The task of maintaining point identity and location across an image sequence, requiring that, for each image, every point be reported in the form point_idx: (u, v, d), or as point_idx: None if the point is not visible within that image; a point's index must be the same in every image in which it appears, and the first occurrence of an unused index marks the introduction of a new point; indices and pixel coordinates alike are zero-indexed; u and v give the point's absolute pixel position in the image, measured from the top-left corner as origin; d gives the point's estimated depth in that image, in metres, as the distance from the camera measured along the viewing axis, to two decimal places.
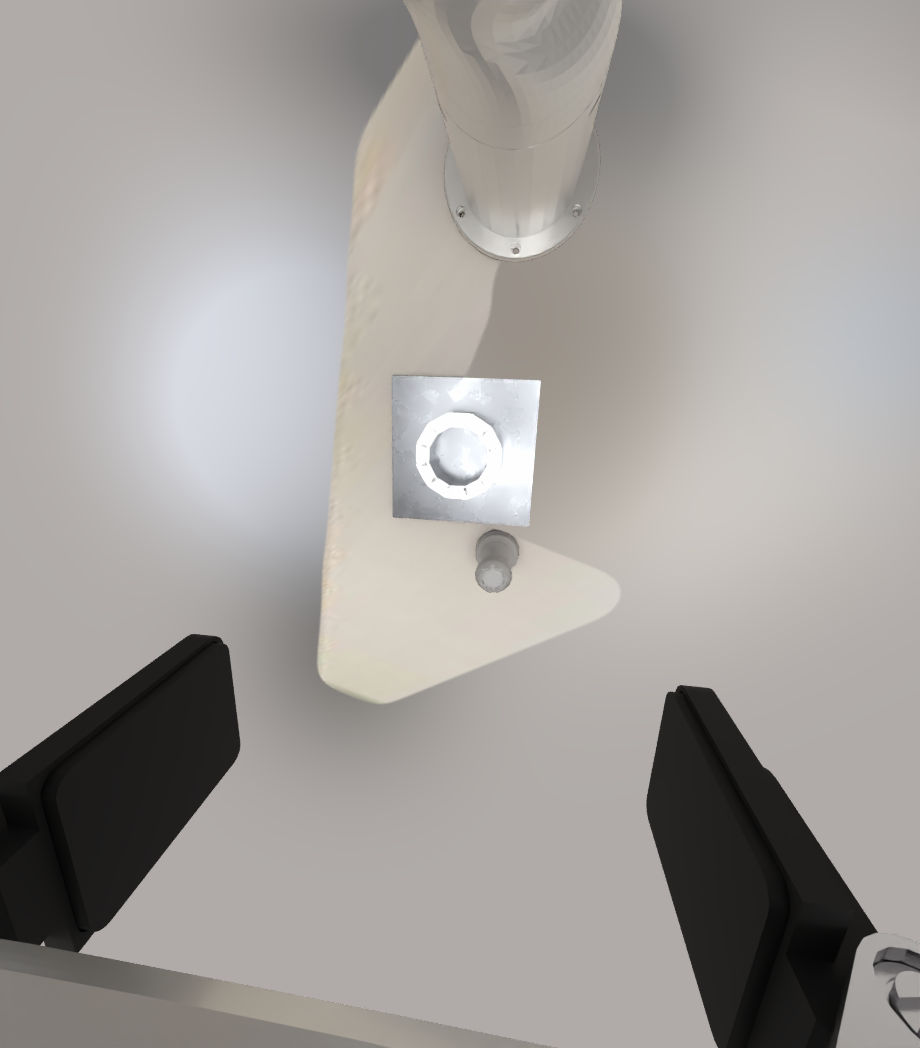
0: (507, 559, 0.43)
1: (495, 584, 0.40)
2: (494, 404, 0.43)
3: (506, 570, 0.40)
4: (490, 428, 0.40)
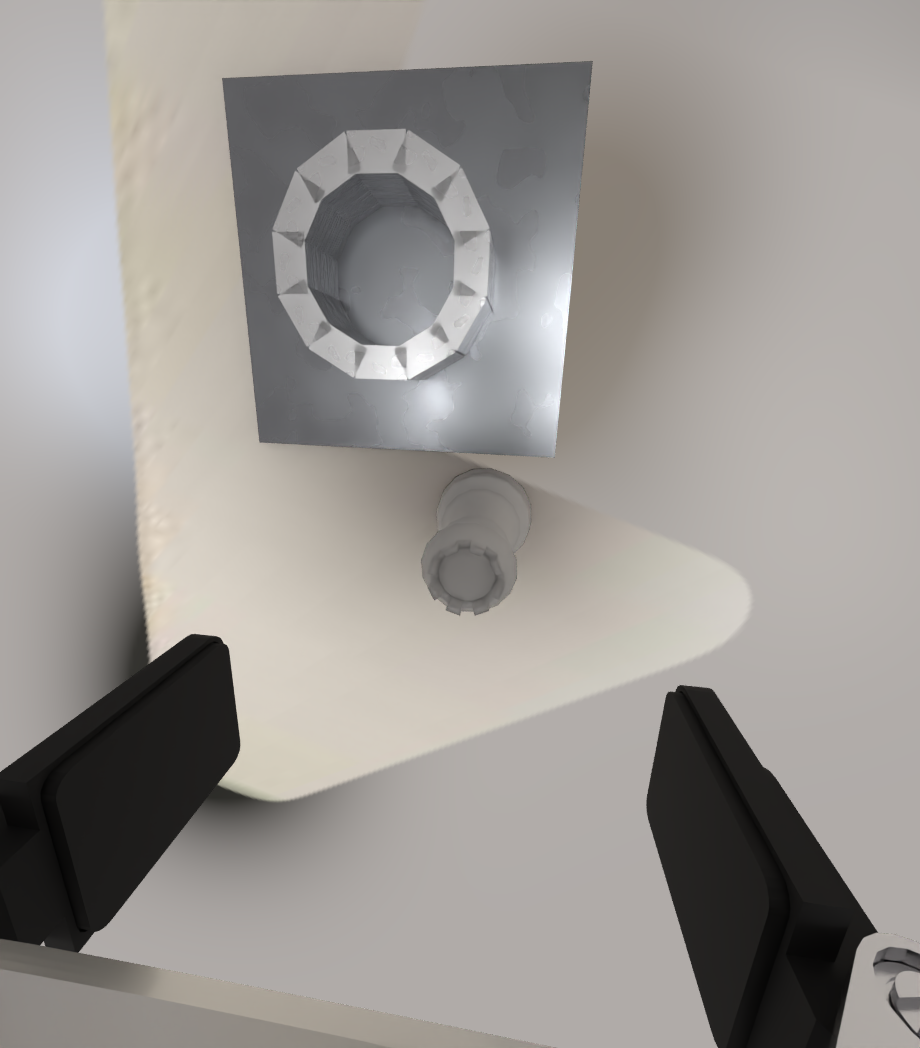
0: (506, 529, 0.18)
1: (472, 594, 0.15)
2: (473, 143, 0.17)
3: (502, 555, 0.15)
4: (459, 172, 0.15)
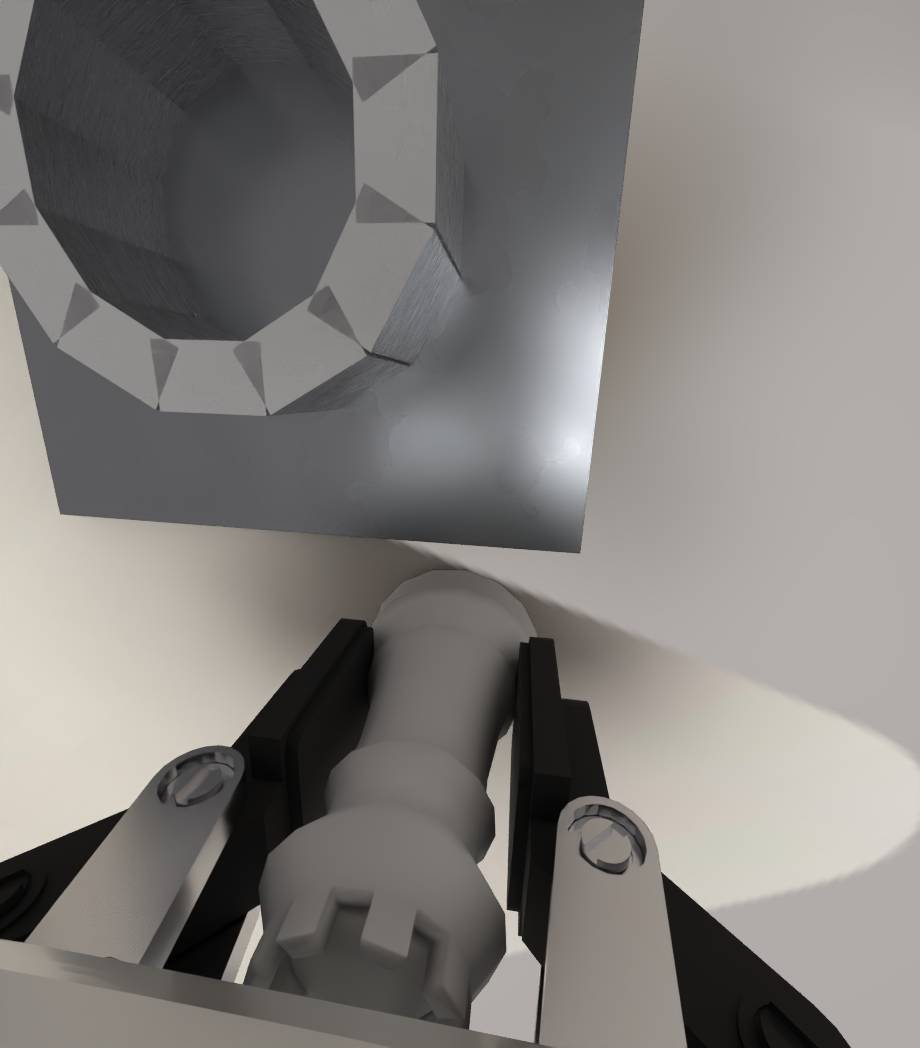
0: (487, 732, 0.08)
1: None
2: None
3: (465, 927, 0.05)
4: None
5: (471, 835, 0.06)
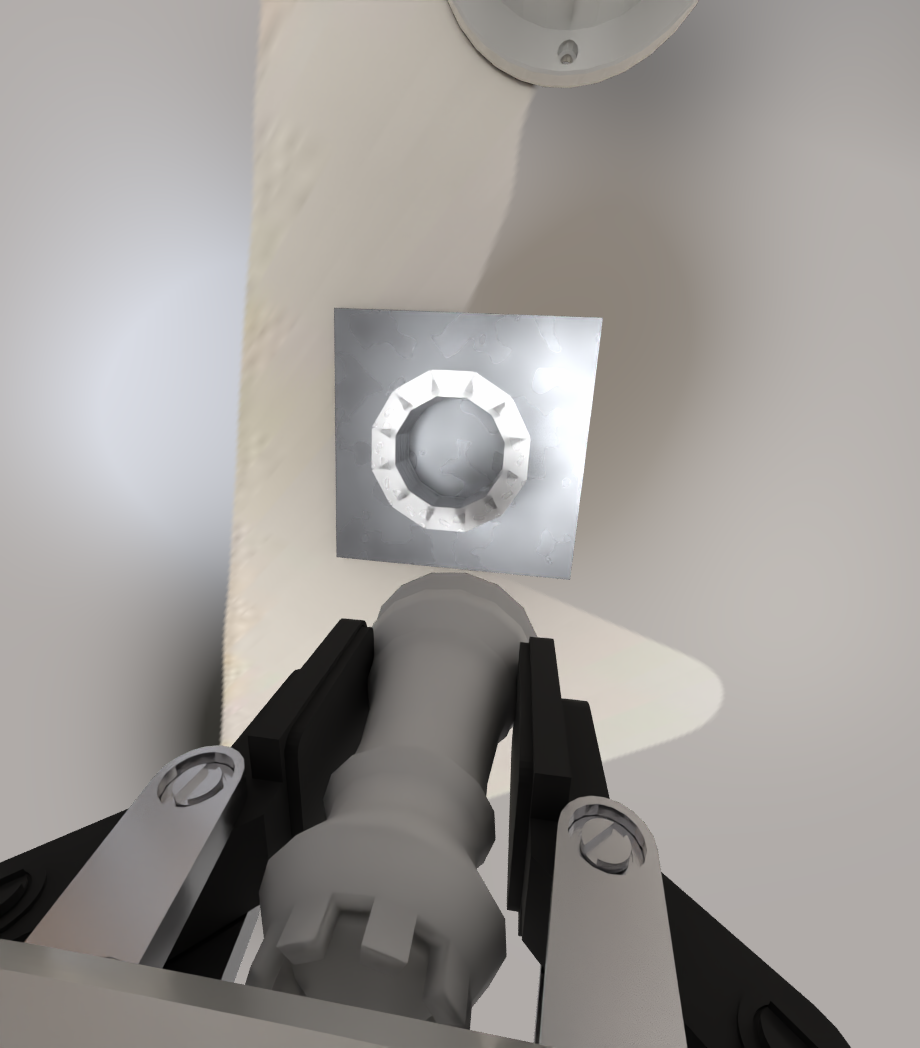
0: (486, 735, 0.08)
1: None
2: (516, 362, 0.24)
3: (465, 932, 0.05)
4: (510, 400, 0.21)
5: (471, 839, 0.06)
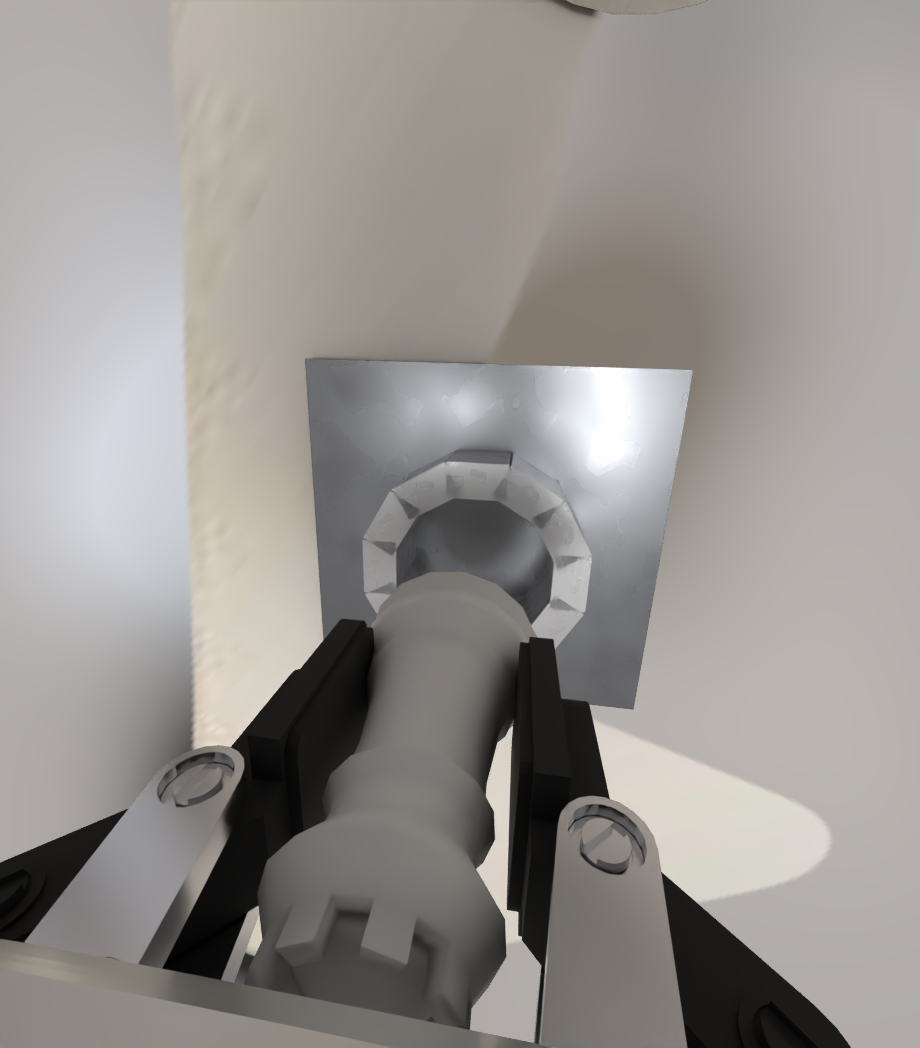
0: (486, 735, 0.08)
1: None
2: (564, 432, 0.17)
3: (465, 933, 0.05)
4: (563, 505, 0.14)
5: (471, 840, 0.06)
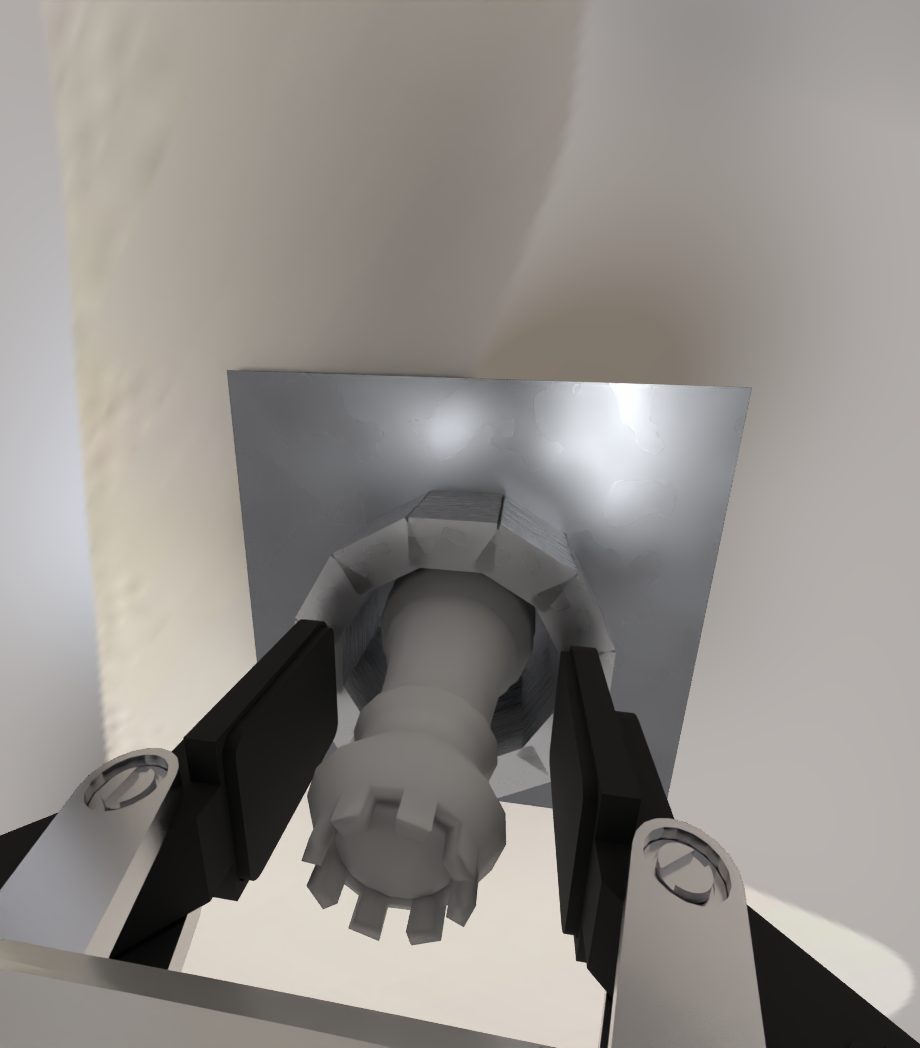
0: (490, 684, 0.10)
1: (409, 892, 0.07)
2: (573, 470, 0.12)
3: (474, 818, 0.07)
4: (575, 580, 0.10)
5: (478, 759, 0.08)
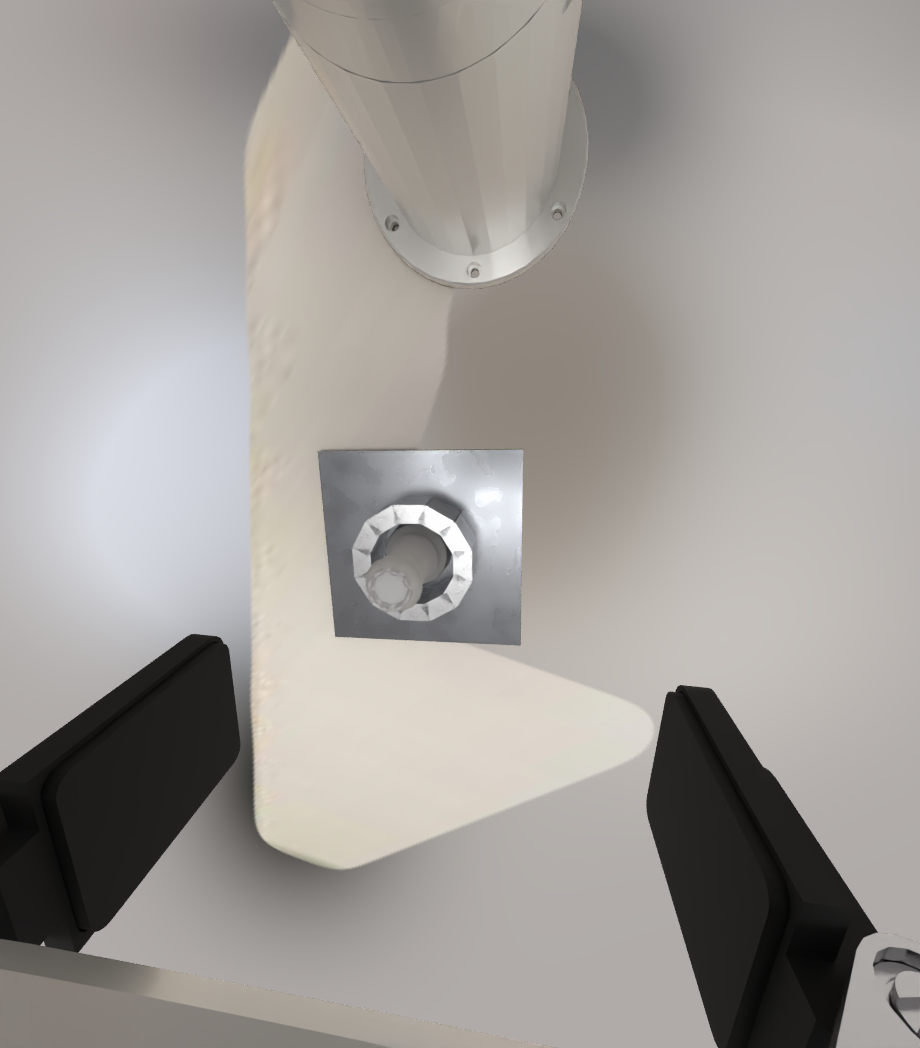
0: (424, 559, 0.28)
1: (395, 599, 0.25)
2: (460, 485, 0.30)
3: (411, 575, 0.24)
4: (454, 524, 0.28)
5: None
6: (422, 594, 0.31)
